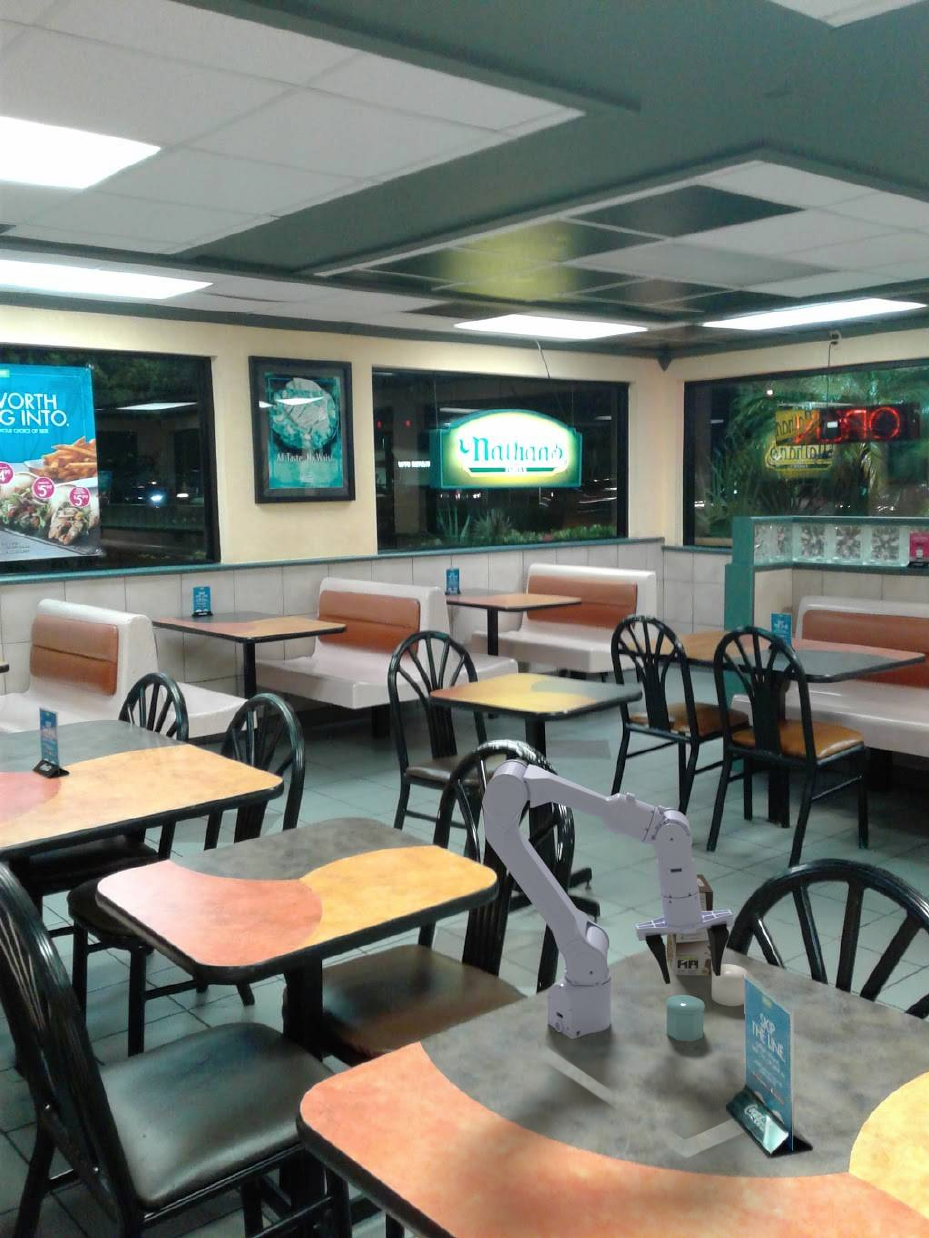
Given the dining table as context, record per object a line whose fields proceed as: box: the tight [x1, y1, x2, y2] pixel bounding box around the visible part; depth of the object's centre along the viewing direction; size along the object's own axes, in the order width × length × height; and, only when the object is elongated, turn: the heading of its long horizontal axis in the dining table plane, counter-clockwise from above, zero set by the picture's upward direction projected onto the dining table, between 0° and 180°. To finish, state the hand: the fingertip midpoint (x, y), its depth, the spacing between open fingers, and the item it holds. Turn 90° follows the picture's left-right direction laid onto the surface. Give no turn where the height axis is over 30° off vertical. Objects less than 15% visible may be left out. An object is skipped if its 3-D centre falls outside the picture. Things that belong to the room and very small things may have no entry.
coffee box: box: [666, 873, 714, 976], centre depth 190 cm, size 9×6×16 cm
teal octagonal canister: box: [665, 994, 705, 1042], centre depth 167 cm, size 6×6×6 cm
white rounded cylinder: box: [711, 963, 749, 1007], centre depth 178 cm, size 6×6×6 cm
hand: (691, 977), depth 167 cm, fingers open, 7 cm apart
